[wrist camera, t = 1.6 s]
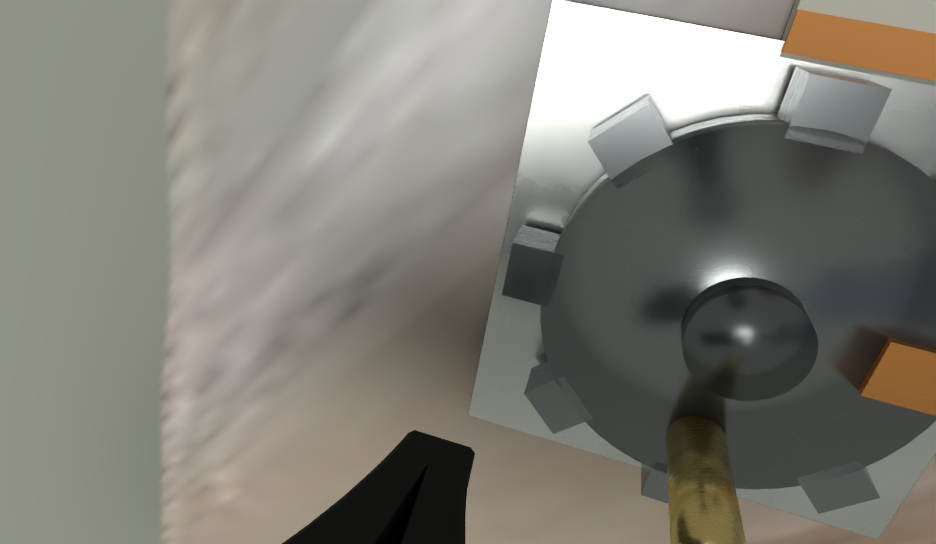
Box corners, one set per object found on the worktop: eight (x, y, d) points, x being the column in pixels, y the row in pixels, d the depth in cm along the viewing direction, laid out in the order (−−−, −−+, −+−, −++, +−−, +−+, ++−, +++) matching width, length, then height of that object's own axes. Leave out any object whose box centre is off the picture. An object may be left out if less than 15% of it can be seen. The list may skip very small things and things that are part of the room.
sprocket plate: (1151, 108, 12) (1167, 112, 11) (872, 528, 17) (877, 539, 16) (555, -2, 13) (553, -2, 13) (471, 407, 19) (468, 415, 18)
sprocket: (1140, 132, 11) (1442, 217, 7) (872, 533, 16) (953, 726, 12) (565, 22, 13) (527, 38, 9) (480, 415, 18) (430, 546, 14)
